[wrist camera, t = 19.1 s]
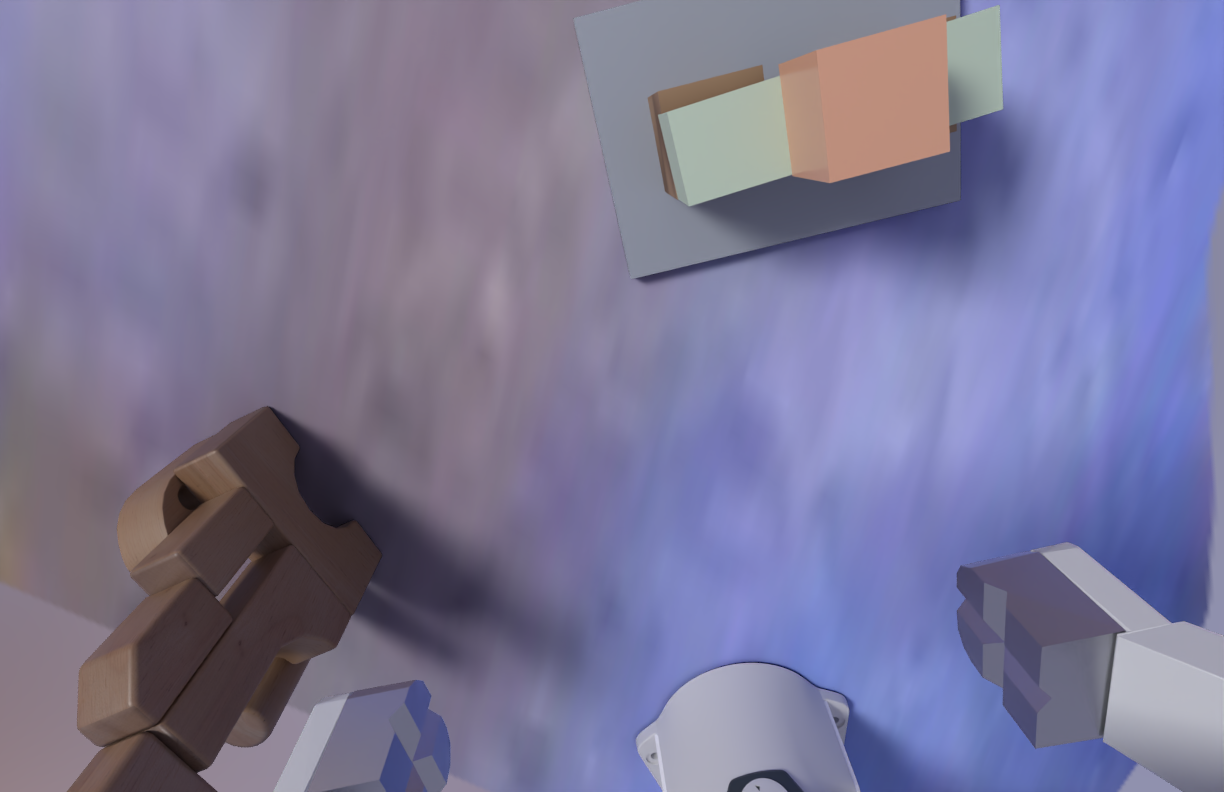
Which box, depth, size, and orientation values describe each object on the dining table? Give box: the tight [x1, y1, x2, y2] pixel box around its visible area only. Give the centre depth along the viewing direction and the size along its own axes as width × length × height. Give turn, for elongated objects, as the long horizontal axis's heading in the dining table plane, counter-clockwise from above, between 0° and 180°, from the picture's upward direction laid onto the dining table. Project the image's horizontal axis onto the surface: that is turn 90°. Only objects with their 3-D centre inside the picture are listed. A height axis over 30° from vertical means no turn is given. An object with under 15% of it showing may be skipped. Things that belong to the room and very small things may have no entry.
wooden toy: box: [67, 406, 382, 792], centre depth 32 cm, size 16×7×25 cm, turn 25°
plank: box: [658, 5, 1003, 206], centre depth 28 cm, size 4×14×4 cm, turn 106°
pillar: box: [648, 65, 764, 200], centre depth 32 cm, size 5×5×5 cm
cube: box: [778, 14, 950, 183], centre depth 24 cm, size 4×4×4 cm
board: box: [573, 0, 961, 279], centre depth 34 cm, size 14×20×1 cm
